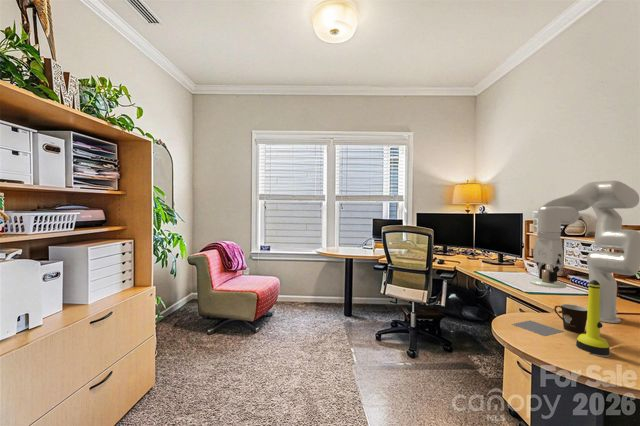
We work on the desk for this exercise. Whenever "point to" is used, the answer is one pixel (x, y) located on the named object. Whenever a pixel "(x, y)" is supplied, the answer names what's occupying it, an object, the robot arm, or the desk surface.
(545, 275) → the lid
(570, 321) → the coffee mug
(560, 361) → the desk surface
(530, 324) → the mat
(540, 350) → the desk surface
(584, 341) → the flashlight
